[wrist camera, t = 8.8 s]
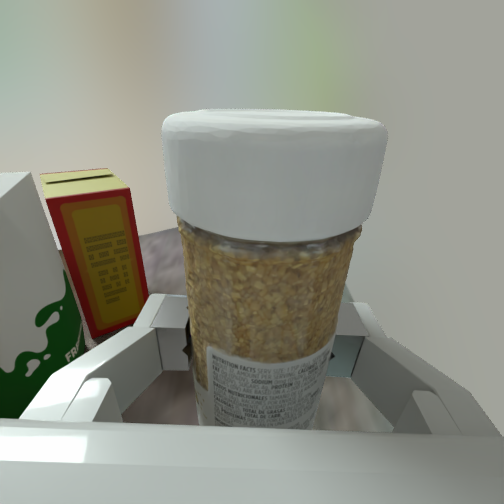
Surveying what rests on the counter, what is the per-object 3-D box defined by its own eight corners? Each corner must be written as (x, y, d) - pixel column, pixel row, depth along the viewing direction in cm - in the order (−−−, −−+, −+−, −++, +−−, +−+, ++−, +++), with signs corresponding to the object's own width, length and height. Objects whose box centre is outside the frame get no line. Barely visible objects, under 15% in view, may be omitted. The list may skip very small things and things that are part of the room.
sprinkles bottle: (217, 396, 14) (201, 106, 8) (305, 411, 14) (366, 112, 7) (185, 508, 10) (101, 108, 4) (306, 535, 10) (442, 122, 3)
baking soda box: (152, 315, 33) (129, 184, 25) (92, 338, 30) (43, 194, 22) (130, 278, 40) (106, 164, 32) (79, 293, 36) (38, 170, 28)
